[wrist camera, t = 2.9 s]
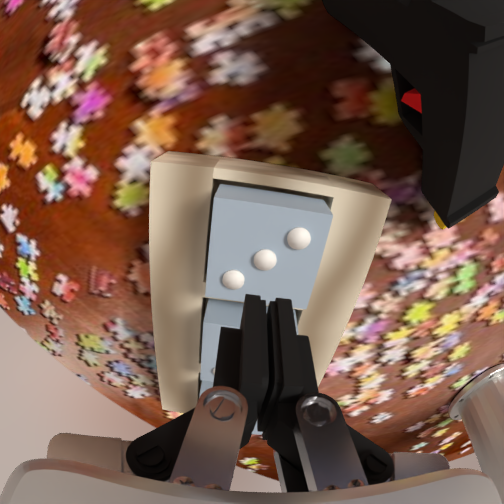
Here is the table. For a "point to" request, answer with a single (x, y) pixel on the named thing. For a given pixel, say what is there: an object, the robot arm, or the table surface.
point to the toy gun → (443, 89)
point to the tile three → (265, 244)
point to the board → (197, 250)
